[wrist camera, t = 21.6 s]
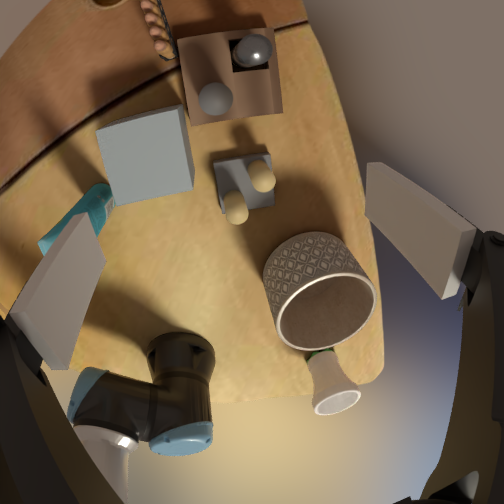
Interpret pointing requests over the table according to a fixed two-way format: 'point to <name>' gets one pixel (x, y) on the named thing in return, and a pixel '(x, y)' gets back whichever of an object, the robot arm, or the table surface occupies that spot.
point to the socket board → (227, 79)
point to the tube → (93, 202)
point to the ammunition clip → (159, 29)
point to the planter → (317, 291)
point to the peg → (252, 51)
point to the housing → (147, 155)
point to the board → (244, 185)
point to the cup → (330, 384)
